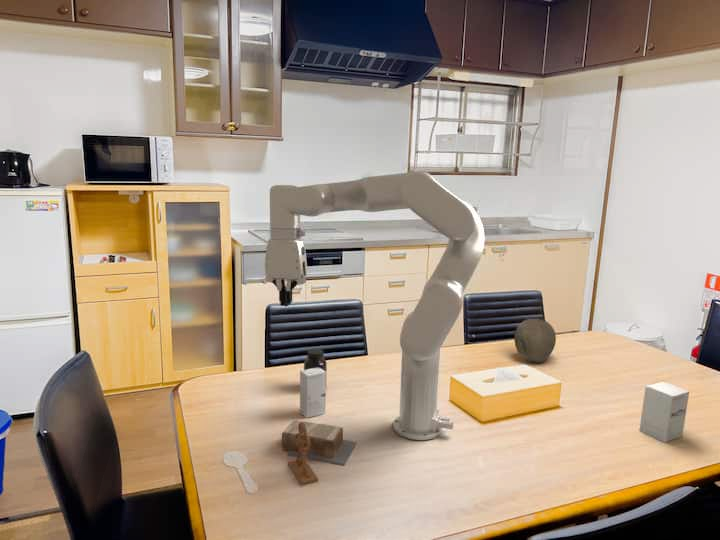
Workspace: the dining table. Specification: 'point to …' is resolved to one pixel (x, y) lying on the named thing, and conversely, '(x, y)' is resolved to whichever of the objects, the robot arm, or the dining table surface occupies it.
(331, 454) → the walnut box
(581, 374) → the dining table surface
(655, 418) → the supplement box
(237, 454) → the spoon
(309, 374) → the skincare box
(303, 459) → the wooden figurine
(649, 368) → the dining table surface
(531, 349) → the cantaloupe
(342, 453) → the rubber mat
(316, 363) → the supplement bottle
